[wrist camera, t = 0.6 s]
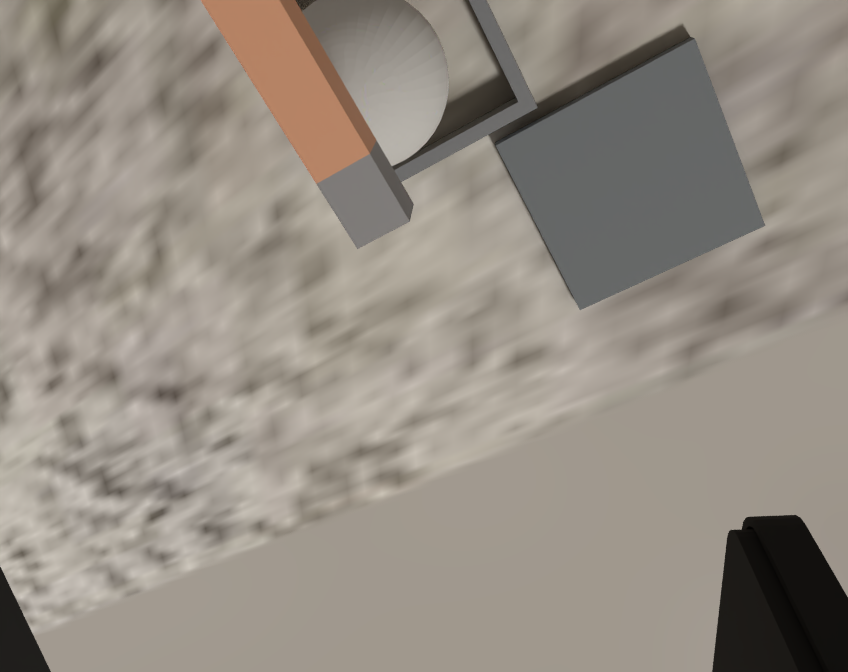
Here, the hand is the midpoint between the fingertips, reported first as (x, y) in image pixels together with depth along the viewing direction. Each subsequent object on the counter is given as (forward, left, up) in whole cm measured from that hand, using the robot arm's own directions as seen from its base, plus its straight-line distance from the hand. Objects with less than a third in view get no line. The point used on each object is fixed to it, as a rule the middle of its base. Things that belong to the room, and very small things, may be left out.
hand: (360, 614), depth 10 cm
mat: (-7, +6, -27) cm, 28 cm away
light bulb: (0, -4, -27) cm, 27 cm away
